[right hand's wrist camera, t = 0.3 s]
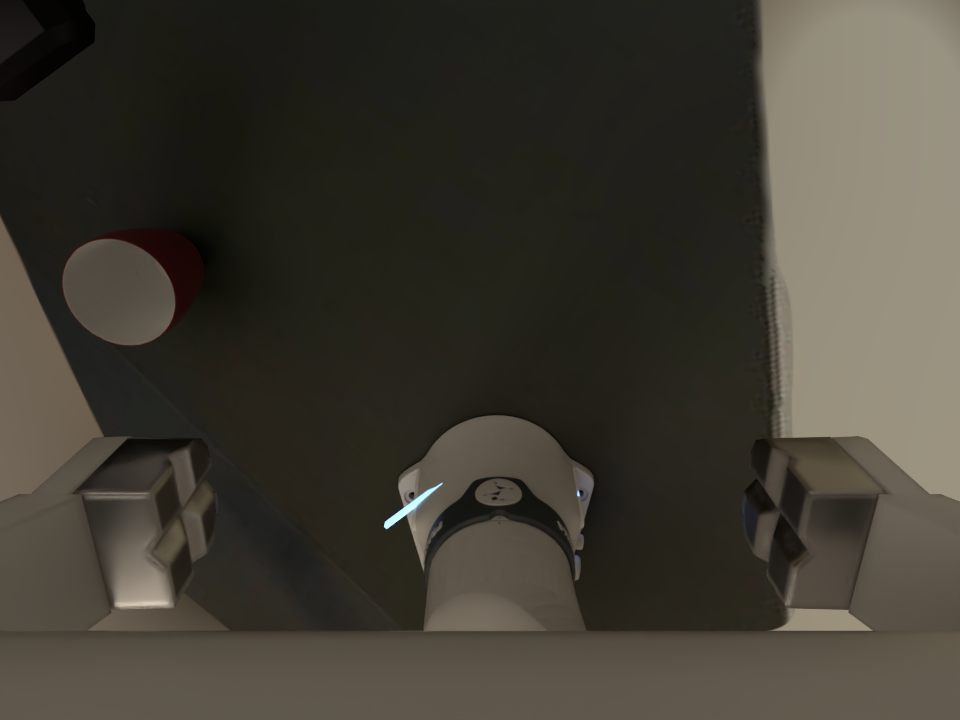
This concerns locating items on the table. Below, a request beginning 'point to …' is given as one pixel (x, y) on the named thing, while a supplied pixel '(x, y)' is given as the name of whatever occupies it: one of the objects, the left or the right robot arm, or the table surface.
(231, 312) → the table surface
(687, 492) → the table surface
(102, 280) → the mug
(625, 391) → the table surface
